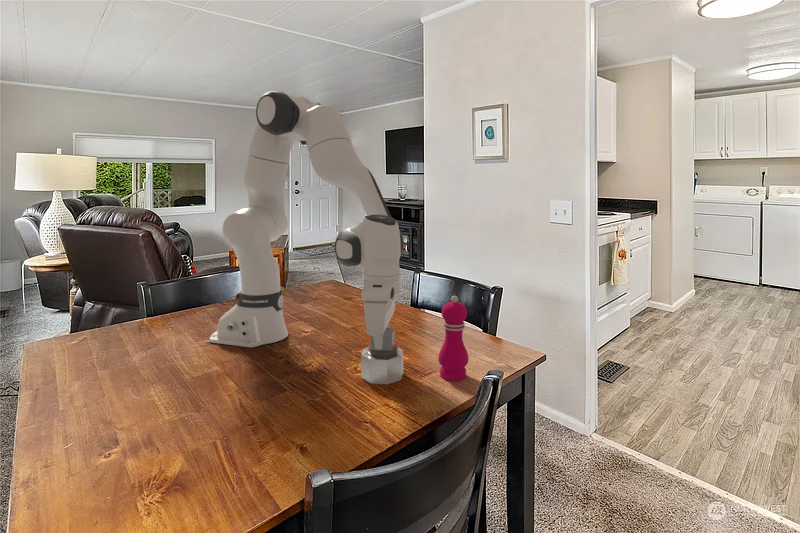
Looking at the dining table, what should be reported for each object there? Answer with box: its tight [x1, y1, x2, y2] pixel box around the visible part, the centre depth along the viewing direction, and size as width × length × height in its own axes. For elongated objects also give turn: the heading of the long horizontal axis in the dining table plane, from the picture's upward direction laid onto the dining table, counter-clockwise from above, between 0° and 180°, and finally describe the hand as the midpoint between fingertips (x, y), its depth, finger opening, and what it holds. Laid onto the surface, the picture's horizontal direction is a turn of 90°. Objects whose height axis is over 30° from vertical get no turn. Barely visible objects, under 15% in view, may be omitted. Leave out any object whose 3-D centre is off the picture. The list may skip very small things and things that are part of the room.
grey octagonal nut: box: [360, 346, 404, 385], centre depth 112 cm, size 10×10×6 cm
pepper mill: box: [437, 295, 469, 382], centre depth 111 cm, size 7×7×20 cm
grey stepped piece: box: [368, 328, 399, 358], centre depth 111 cm, size 7×7×8 cm
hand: (382, 341), depth 111 cm, fingers open, 8 cm apart
